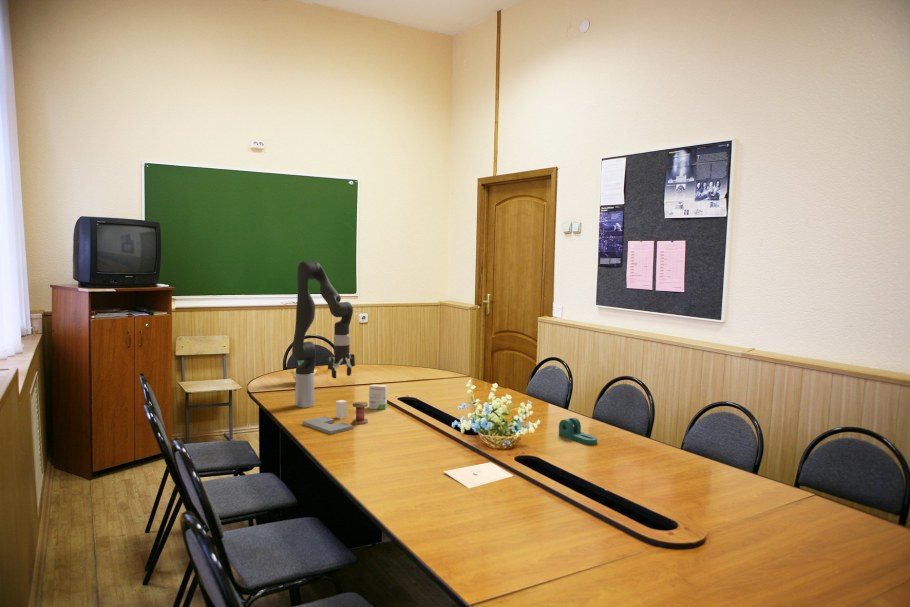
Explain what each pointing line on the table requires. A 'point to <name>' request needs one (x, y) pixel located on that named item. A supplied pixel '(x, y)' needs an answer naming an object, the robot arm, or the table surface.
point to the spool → (360, 413)
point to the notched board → (327, 425)
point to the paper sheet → (478, 474)
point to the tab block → (341, 409)
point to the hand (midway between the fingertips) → (341, 376)
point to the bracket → (575, 432)
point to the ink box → (378, 397)
